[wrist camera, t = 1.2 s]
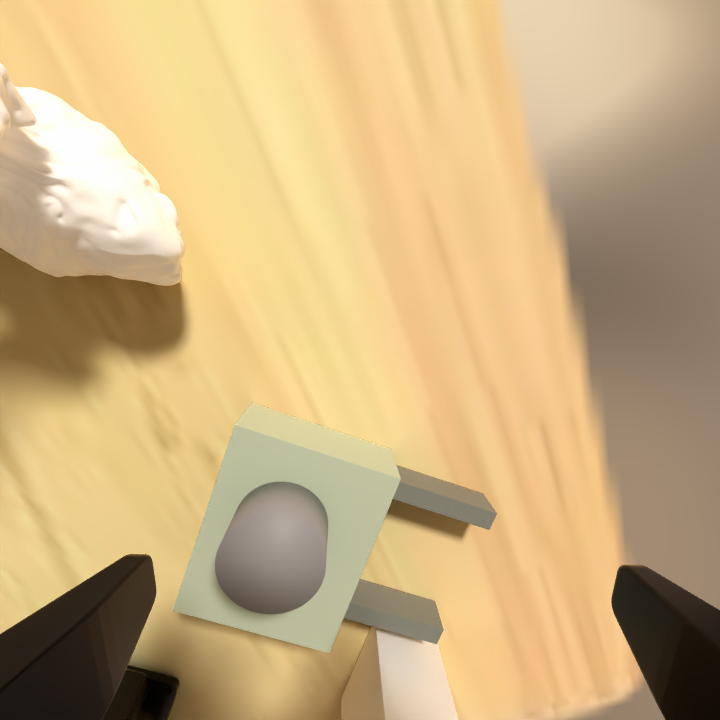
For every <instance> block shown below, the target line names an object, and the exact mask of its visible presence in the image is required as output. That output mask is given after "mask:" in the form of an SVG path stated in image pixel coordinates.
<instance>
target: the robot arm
mask: <svg viewBox="0 0 720 720" xmlns="http://www.w3.org/2000/svg"><path fill="white" fill-rule="evenodd" d="M155 597H156V583H155V576H154V569H153V562H152V558H151V557H150V556H149V555H146V554H129V555H126V556H124V557H122V558H121V559H119V560H117V561H116V562H114V563H113V564H111V565H110V566H108V567H106V568H105V569H103V570H102V571H100V572H98V573H97V574H95V575H94V576H92V577H90V578H89V579H87V580H86V581H84V582H82V583H81V584H79V585H78V586H76V587H74V588H73V589H71V590H70V591H68V592H67V593H65V594H63V595H62V596H60V597H59V598H57V599H55V600H54V601H52V602H51V603H49V604H47V605H46V606H44V607H43V608H41V609H39V610H38V611H36V612H35V613H33V614H32V615H30V616H28V617H27V618H25V619H24V620H22V621H20V622H19V623H17V624H16V625H14V626H12V627H11V628H9V629H8V630H6V631H4V632H3V633H1V634H0V720H167V719H168V716H169V714H170V711H171V708H172V705H173V702H174V699H175V696H176V693H177V690H178V688H179V681H178V680H177V679H176V678H174V677H171V676H167V675H163V674H159V673H155V672H151V671H147V670H143V669H139V668H136V667H132V666H128V663H129V661H130V659H131V656H132V654H133V652H134V649H135V647H136V644H137V642H138V640H139V637H140V635H141V632H142V630H143V628H144V625H145V623H146V621H147V618H148V616H149V613H150V611H151V609H152V606H153V604H154V601H155ZM612 608H613V612H614V614H615V617H616V619H617V621H618V623H619V625H620V627H621V629H622V631H623V634H624V636H625V638H626V640H627V642H628V644H629V646H630V648H631V650H632V653H633V655H634V657H635V659H636V661H637V663H638V665H639V667H640V670H641V672H642V674H643V676H644V678H645V680H646V682H647V684H648V686H649V688H650V691H651V693H652V695H653V696H654V699H655V701H656V703H657V705H658V707H659V709H660V710H661V712H662V714H663V716H664V718H665V720H720V610H718V609H717V608H715V607H713V606H712V605H709V604H708V603H706V602H705V601H703V600H701V599H699V598H698V597H696V596H695V595H693V594H691V593H690V592H688V591H686V590H684V589H683V588H681V587H680V586H678V585H676V584H675V583H673V582H671V581H669V580H668V579H666V578H665V577H663V576H661V575H660V574H658V573H656V572H655V571H653V570H651V569H649V568H648V567H646V566H642V565H622V566H620V567H619V569H618V571H617V576H616V580H615V585H614V589H613V594H612Z"/></svg>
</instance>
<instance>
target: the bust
mask: <svg viewBox="0 0 720 720" xmlns="http://www.w3.org/2000/svg"><path fill="white" fill-rule="evenodd" d="M181 235H182V233H181V230H180V228H179V220H178V217H177V212H176V209H175V207H174V205H173V203H172V202H171V200H170V199H169V198H168V197H167V196H165V195H163V194H161V191H160V186H159V184H158V183H157V181H156V180H155V179H154V178H153V176H152V175H151V174H150V173H149V172H148V171H147V170H146V169H145V168H144V167H143V166H142V165H141V164H140V163H139V162H138V161H137V160H136V159H134V158H133V157H132V156H131V155H130V154H129V153H128V152H127V151H126V150H125V148H124V147H123V145H122V143H121V142H120V140H119V139H118V137H117V136H116V135H115V134H114V133H113V132H111V131H110V130H108V129H107V128H106V127H105V126H104V125H103V124H101V123H99V122H94V121H92V120H90V119H88V118H87V117H85V116H84V115H83V114H81V113H80V112H78V111H76V110H75V109H73V108H72V107H70V106H69V105H68V104H67V103H66V102H64V101H63V100H62V99H60V98H59V97H57V96H55V95H52V94H50V93H48V92H45V91H43V90H39V89H36V88H31V87H23V88H21V87H16V86H14V85H13V83H12V82H11V80H10V78H9V76H8V73H7V70H6V69H5V67H4V66H3V65H2V64H1V63H0V248H1V249H3V250H5V251H7V252H8V253H10V254H11V255H13V256H15V257H16V258H18V259H19V260H21V261H24V262H26V263H28V264H29V265H31V266H32V267H34V268H36V269H37V270H39V271H41V272H44V273H47V274H50V275H52V276H55V277H62V276H84V275H97V276H104V275H110V276H112V277H115V278H119V279H127V280H137V281H143V282H148V283H152V284H155V285H161V286H171V285H175V284H177V283H179V282H180V281H181V278H182V271H183V270H182V265H181V262H182V258H183V255H184V244H183V241H182V239H181Z"/></svg>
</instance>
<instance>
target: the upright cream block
mask: <svg viewBox="0 0 720 720" xmlns="http://www.w3.org/2000/svg"><path fill="white" fill-rule="evenodd" d="M341 720H458V717H457V713H456V709H455V706H454V702H453V698H452V695H451V691H450V687H449V684H448V680H447V676H446V673H445V669H444V665H443V661H442V658H441V654H440V650H439V647H438V643H437V644H433V643H430V642H426V641H423V640H419V639H416V638H412V637H409V636H405V635H402V634H398V633H394V632H391V631H387V630H384V629H380V628H377V627H373V626H372V627H371V629H370V632H369V634H368V637H367V639H366V641H365V644H364V646H363V648H362V651H361V653H360V655H359V658H358V660H357V662H356V665H355V667H354V669H353V672H352V674H351V676H350V679H349V681H348V683H347V686H346V688H345V690H344V693H343V695H342V698H341Z"/></svg>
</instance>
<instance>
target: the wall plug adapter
mask: <svg viewBox="0 0 720 720" xmlns="http://www.w3.org/2000/svg"><path fill="white" fill-rule="evenodd" d="M392 499H394V500H398V501H401V502H404V503H407V504H410V505H413V506H416V507H419V508H423V509H426V510H429V511H432V512H435V513H438V514H441V515H444V516H448V517H451V518H454V519H457V520H460V521H463V522H466V523H469V524H473V525H476V526H479V527H482V528H485V529H488V530H490V527H491V525H492V523H493V521H494V519H495V517H496V514H497V513H496V511H495V510H494V509H493V507H492V506H491V504H490V503H489V501H488V500H487V499H486V497H485V496H484V494H482V493H479V492H476V491H473V490H470V489H467V488H464V487H461V486H458V485H455V484H452V483H449V482H446V481H443V480H440V479H437V478H434V477H431V476H428V475H425V474H422V473H419V472H416V471H413V470H409V469H406V468H403V467H400V466H397V465H396V462H395V459H394V456H393V453H392V449H390V448H387V447H384V446H381V445H378V444H375V443H372V442H369V441H366V440H363V439H360V438H357V437H354V436H351V435H348V434H345V433H342V432H339V431H336V430H333V429H330V428H327V427H324V426H321V425H318V424H315V423H312V422H309V421H306V420H303V419H300V418H297V417H294V416H291V415H288V414H285V413H282V412H279V411H276V410H273V409H270V408H267V407H264V406H261V405H258V404H255V403H252V404H251V405H250V406H249V408H248V409H247V410H246V411H245V413H244V414H243V415H242V416H241V418H240V419H239V420H238V421H237V423H236V424H235V426H234V429H233V432H232V435H231V438H230V441H229V444H228V447H227V450H226V453H225V456H224V459H223V462H222V465H221V468H220V471H219V474H218V477H217V480H216V483H215V486H214V489H213V492H212V495H211V498H210V501H209V504H208V507H207V510H206V513H205V516H204V519H203V522H202V525H201V528H200V531H199V534H198V537H197V540H196V543H195V546H194V549H193V552H192V555H191V558H190V561H189V564H188V567H187V570H186V573H185V576H184V579H183V582H182V585H181V588H180V591H179V594H178V597H177V600H176V603H175V606H174V609H173V611H175V612H179V613H182V614H186V615H190V616H193V617H197V618H201V619H204V620H208V621H212V622H215V623H219V624H223V625H227V626H230V627H234V628H238V629H241V630H245V631H249V632H252V633H256V634H260V635H263V636H267V637H271V638H275V639H278V640H282V641H286V642H289V643H293V644H297V645H300V646H304V647H308V648H311V649H315V650H319V651H323V652H326V653H329V652H330V650H331V648H332V645H333V643H334V640H335V638H336V635H337V633H338V631H339V628H340V626H341V623H342V621H343V618H345V619H348V620H352V621H355V622H359V623H362V624H366V625H370V626H373V627H377V628H380V629H384V630H387V631H391V632H394V633H398V634H402V635H405V636H409V637H412V638H416V639H419V640H423V641H426V642H430V643H433V644H437V643H438V640H439V638H440V636H441V634H442V632H443V626H442V623H441V620H440V616H439V613H438V610H437V606H436V603H435V601H433V600H429V599H426V598H422V597H419V596H416V595H412V594H409V593H405V592H402V591H399V590H395V589H392V588H388V587H385V586H382V585H378V584H375V583H371V582H368V581H365V580H361V579H360V577H361V575H362V572H363V570H364V567H365V565H366V562H367V560H368V558H369V555H370V553H371V550H372V548H373V545H374V543H375V541H376V538H377V536H378V533H379V531H380V528H381V526H382V524H383V521H384V519H385V516H386V514H387V511H388V509H389V507H390V504H391V502H392Z"/></svg>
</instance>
